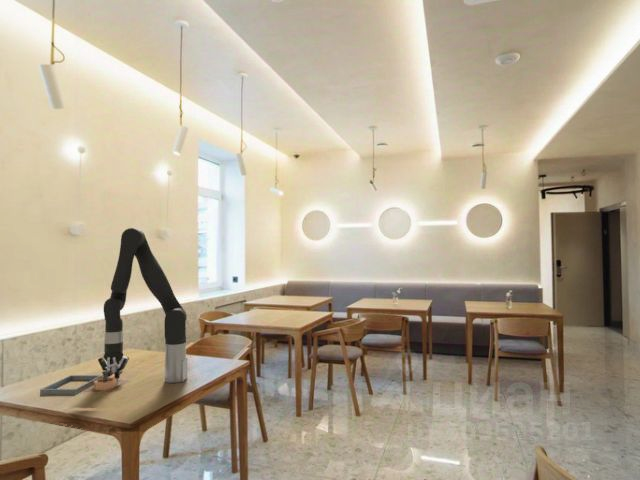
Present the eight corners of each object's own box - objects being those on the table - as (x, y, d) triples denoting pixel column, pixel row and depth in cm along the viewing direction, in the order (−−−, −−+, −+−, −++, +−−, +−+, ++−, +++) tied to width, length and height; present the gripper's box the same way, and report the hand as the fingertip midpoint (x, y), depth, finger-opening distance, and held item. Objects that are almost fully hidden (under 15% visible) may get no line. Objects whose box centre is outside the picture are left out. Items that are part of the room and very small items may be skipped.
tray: (102, 381, 188) (102, 375, 188) (75, 396, 168) (76, 389, 168) (70, 381, 188) (70, 375, 188) (39, 396, 168) (40, 389, 168)
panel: (129, 382, 187) (130, 365, 188) (111, 393, 171) (111, 375, 172) (104, 382, 188) (104, 365, 188) (83, 393, 172) (83, 376, 172)
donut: (115, 377, 195) (115, 356, 195) (108, 377, 195) (108, 356, 195) (126, 371, 205) (126, 351, 205) (119, 371, 205) (119, 351, 205)
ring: (124, 380, 186) (124, 374, 186) (109, 390, 173) (109, 382, 173) (106, 380, 186) (106, 374, 186) (90, 390, 173) (90, 383, 174)
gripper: (132, 339, 189) (132, 377, 188) (103, 339, 189) (102, 377, 188) (124, 343, 181) (124, 382, 181) (94, 343, 181) (93, 382, 181)
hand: (113, 379), depth 184 cm, fingers closed on ring, 2 cm apart
